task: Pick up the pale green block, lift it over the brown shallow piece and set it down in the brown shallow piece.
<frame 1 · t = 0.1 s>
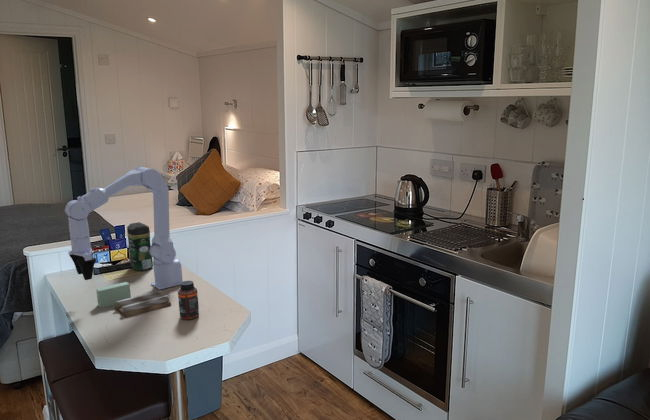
hand: (84, 276, 175), 10 cm above the table, tool pointing down, fingers open, 7 cm apart
coffee jar: (142, 268, 214), on the table
brown shallow piece: (143, 306, 174), on the table
supplement bottle: (189, 317, 165), on the table
pale green block: (114, 303, 178), on the table
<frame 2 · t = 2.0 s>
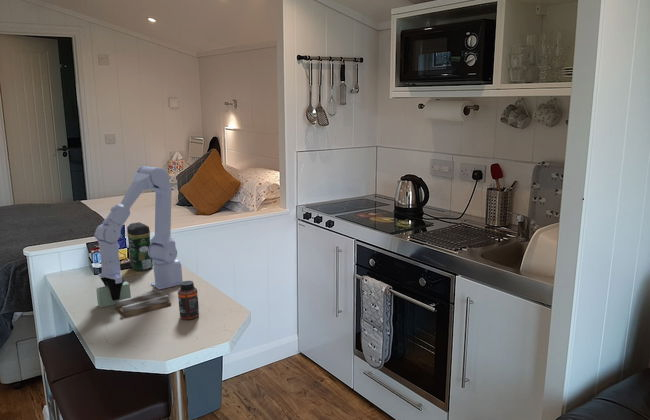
hand: (114, 298, 177), 2 cm above the table, tool pointing down, fingers closed on pale green block, 3 cm apart
pale green block: (114, 302, 178), on the table, touching gripper
everything else where it was.
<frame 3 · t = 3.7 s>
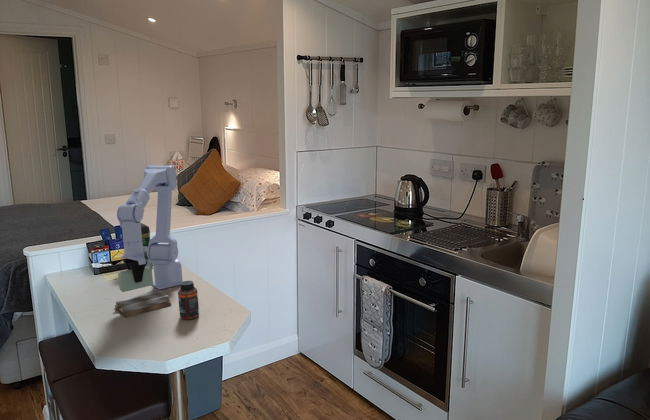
hand: (136, 280, 173), 9 cm above the table, tool pointing down, fingers closed on pale green block, 3 cm apart
pale green block: (136, 287, 173), point 7 cm above the table, touching gripper
everything else where it was.
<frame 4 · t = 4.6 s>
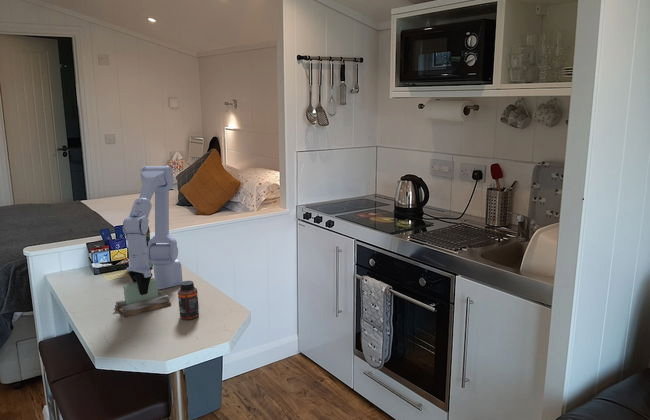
hand: (141, 292, 173), 5 cm above the table, tool pointing down, fingers closed on pale green block, 3 cm apart
pale green block: (141, 299, 173), point 2 cm above the table, touching gripper
everything else where it was.
when the fingers open (4 cm above the table, at t = 5.6 s): pale green block stays where it is, resting on brown shallow piece.
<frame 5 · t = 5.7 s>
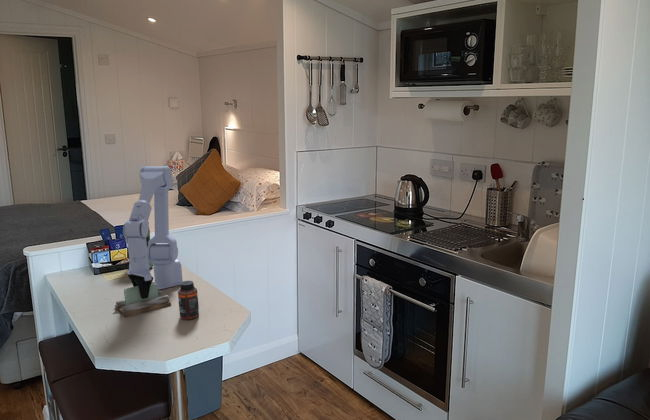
hand: (142, 296, 173), 4 cm above the table, tool pointing down, fingers open, 4 cm apart
pale green block: (142, 303, 174), point 1 cm above the table, touching brown shallow piece
everything else where it was.
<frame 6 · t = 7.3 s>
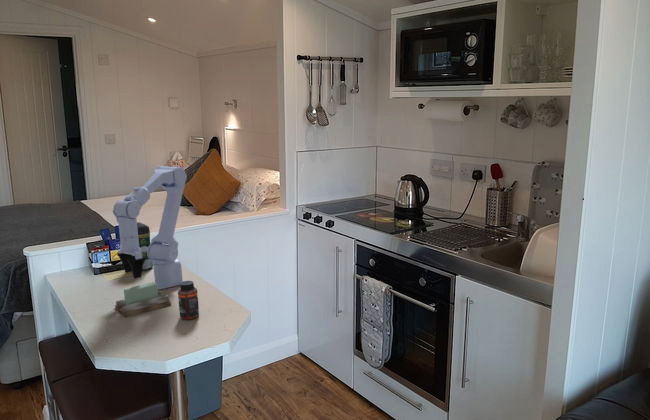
hand: (133, 274, 178), 9 cm above the table, tool pointing down, fingers open, 7 cm apart
nothing on the table moved.
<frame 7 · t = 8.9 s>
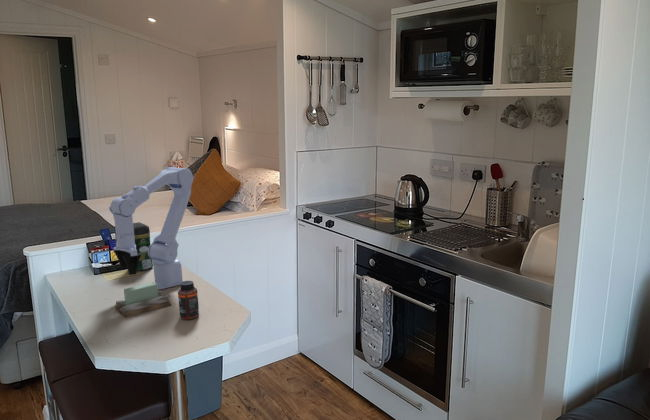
hand: (128, 271, 180), 9 cm above the table, tool pointing down, fingers open, 7 cm apart
nothing on the table moved.
at the end: pale green block 0.2 cm off-centre on the brown shallow piece, point 1.0 cm above the brown shallow piece's base; pale green block tilted 0°; the gripper is holding nothing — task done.
